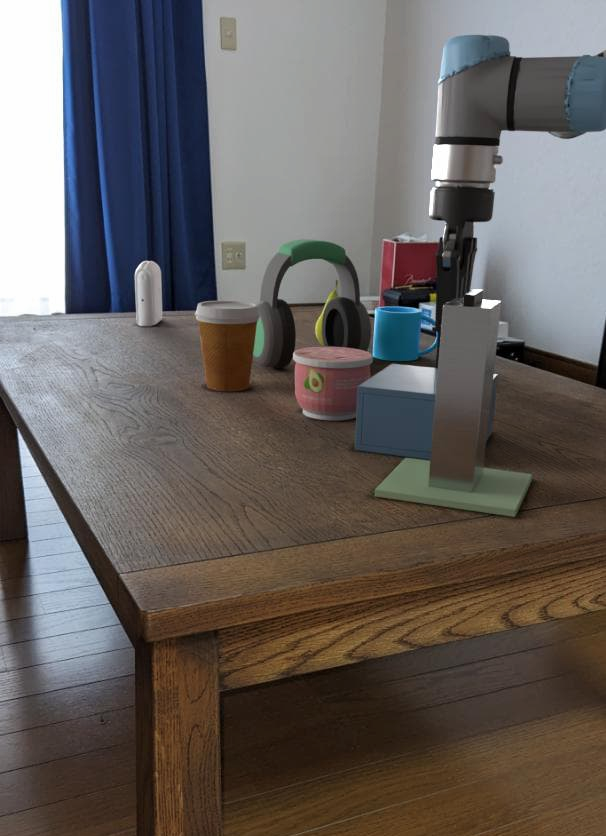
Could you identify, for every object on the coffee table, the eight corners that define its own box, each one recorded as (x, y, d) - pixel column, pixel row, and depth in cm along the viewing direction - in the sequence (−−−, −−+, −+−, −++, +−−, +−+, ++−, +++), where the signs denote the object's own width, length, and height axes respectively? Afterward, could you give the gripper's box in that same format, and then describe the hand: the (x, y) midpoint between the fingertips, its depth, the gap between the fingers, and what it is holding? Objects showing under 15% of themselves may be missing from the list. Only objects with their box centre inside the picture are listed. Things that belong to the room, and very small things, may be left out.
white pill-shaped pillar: (155, 326, 183) (153, 263, 178) (134, 326, 183) (131, 263, 178) (164, 319, 192) (162, 259, 187) (144, 318, 192) (142, 258, 187)
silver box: (482, 475, 95) (502, 290, 87) (471, 492, 89) (492, 297, 82) (440, 470, 96) (457, 287, 89) (427, 486, 91) (443, 293, 84)
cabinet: (388, 421, 118) (391, 363, 115) (491, 433, 113) (498, 374, 110) (354, 450, 105) (357, 386, 102) (469, 465, 101) (476, 398, 98)
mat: (531, 481, 96) (532, 474, 96) (515, 517, 86) (516, 509, 85) (404, 464, 100) (405, 457, 100) (374, 496, 90) (374, 489, 90)
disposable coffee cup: (217, 377, 140) (216, 298, 135) (271, 384, 136) (272, 303, 131) (183, 389, 132) (181, 305, 127) (239, 397, 128) (239, 311, 123)
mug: (370, 359, 157) (372, 311, 154) (375, 351, 164) (377, 305, 161) (439, 363, 155) (443, 315, 152) (441, 355, 162) (445, 309, 159)
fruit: (317, 350, 163) (319, 282, 158) (312, 345, 168) (314, 278, 164) (348, 350, 164) (351, 283, 159) (342, 345, 169) (345, 279, 164)
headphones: (268, 375, 142) (269, 242, 135) (243, 362, 151) (244, 237, 144) (373, 368, 150) (380, 242, 142) (344, 356, 159) (349, 237, 151)
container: (280, 406, 123) (281, 348, 120) (349, 401, 127) (352, 344, 124) (309, 425, 114) (311, 363, 111) (383, 420, 118) (386, 359, 115)
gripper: (485, 186, 99) (464, 396, 108) (503, 186, 111) (484, 376, 120) (419, 184, 102) (404, 390, 111) (443, 184, 113) (428, 370, 122)
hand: (445, 382), depth 115 cm, fingers closed
